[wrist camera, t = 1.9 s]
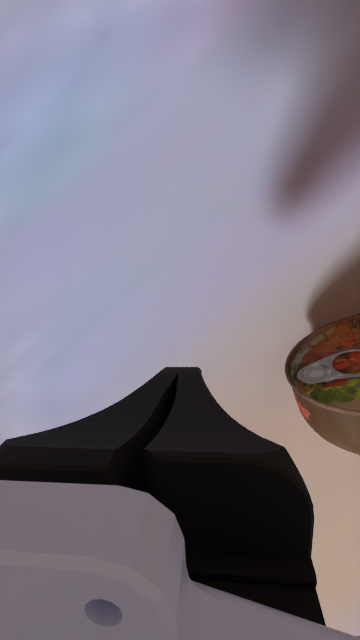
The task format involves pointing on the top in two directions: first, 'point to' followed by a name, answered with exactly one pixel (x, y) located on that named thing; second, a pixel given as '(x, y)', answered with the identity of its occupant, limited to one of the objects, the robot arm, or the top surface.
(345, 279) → the top surface
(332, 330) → the tin
